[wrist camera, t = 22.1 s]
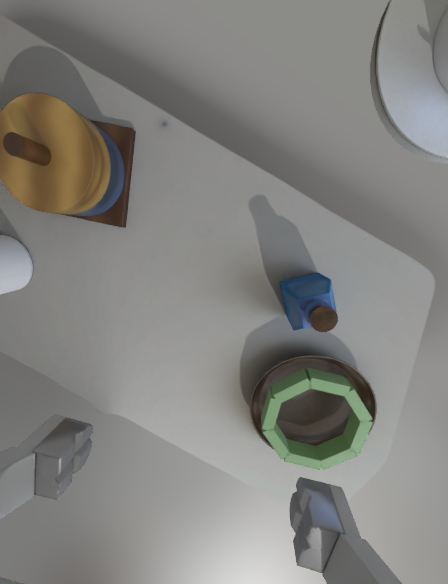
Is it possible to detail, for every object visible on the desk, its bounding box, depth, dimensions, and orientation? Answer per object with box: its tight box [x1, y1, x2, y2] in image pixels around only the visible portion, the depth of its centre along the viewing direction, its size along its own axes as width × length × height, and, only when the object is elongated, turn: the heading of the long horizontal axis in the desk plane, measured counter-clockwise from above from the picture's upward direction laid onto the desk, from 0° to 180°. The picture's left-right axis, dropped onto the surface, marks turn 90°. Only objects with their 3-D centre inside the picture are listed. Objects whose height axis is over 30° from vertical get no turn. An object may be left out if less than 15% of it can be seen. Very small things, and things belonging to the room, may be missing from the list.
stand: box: [0, 93, 135, 227], centre depth 34 cm, size 14×14×13 cm
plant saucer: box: [250, 355, 377, 450], centre depth 43 cm, size 21×21×3 cm
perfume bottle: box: [280, 273, 338, 332], centre depth 35 cm, size 6×6×12 cm
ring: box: [261, 368, 373, 470], centre depth 40 cm, size 16×16×3 cm
